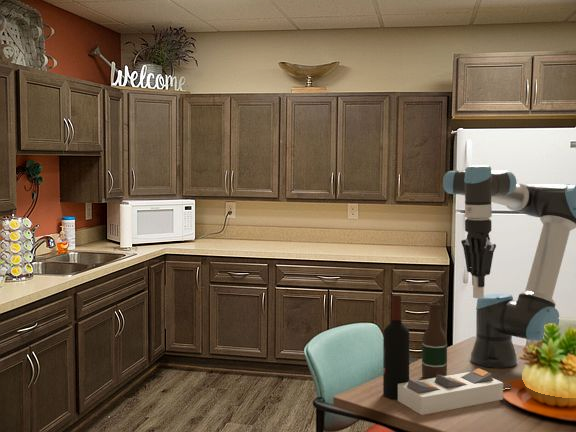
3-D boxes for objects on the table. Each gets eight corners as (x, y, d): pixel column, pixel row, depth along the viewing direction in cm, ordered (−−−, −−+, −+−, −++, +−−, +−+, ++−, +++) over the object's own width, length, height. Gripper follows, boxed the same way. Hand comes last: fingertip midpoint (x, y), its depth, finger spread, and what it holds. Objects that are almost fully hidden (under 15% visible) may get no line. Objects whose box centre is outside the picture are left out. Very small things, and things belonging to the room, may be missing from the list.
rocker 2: (451, 386, 198) (453, 378, 199) (464, 392, 193) (466, 384, 193) (434, 381, 196) (437, 373, 196) (447, 387, 190) (450, 379, 191)
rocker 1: (424, 390, 195) (426, 382, 195) (437, 396, 189) (439, 388, 189) (407, 386, 192) (409, 378, 192) (419, 393, 187) (421, 384, 187)
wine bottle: (392, 401, 194) (392, 299, 192) (378, 393, 201) (378, 294, 199) (414, 397, 197) (414, 296, 195) (399, 389, 204) (400, 291, 202)
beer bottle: (447, 381, 211) (447, 306, 209) (421, 380, 212) (422, 305, 210) (446, 373, 218) (447, 301, 216) (421, 372, 220) (422, 300, 218)
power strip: (496, 383, 209) (496, 367, 209) (524, 395, 198) (524, 378, 198) (397, 400, 195) (397, 383, 194) (421, 415, 184) (421, 397, 183)
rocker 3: (479, 374, 202) (477, 367, 202) (492, 380, 197) (491, 373, 196) (463, 383, 200) (461, 376, 200) (476, 389, 195) (474, 382, 194)
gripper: (453, 217, 202) (454, 294, 205) (482, 221, 190) (482, 303, 193) (473, 215, 205) (474, 291, 208) (503, 219, 193) (503, 300, 196)
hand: (478, 297), depth 200 cm, fingers closed
